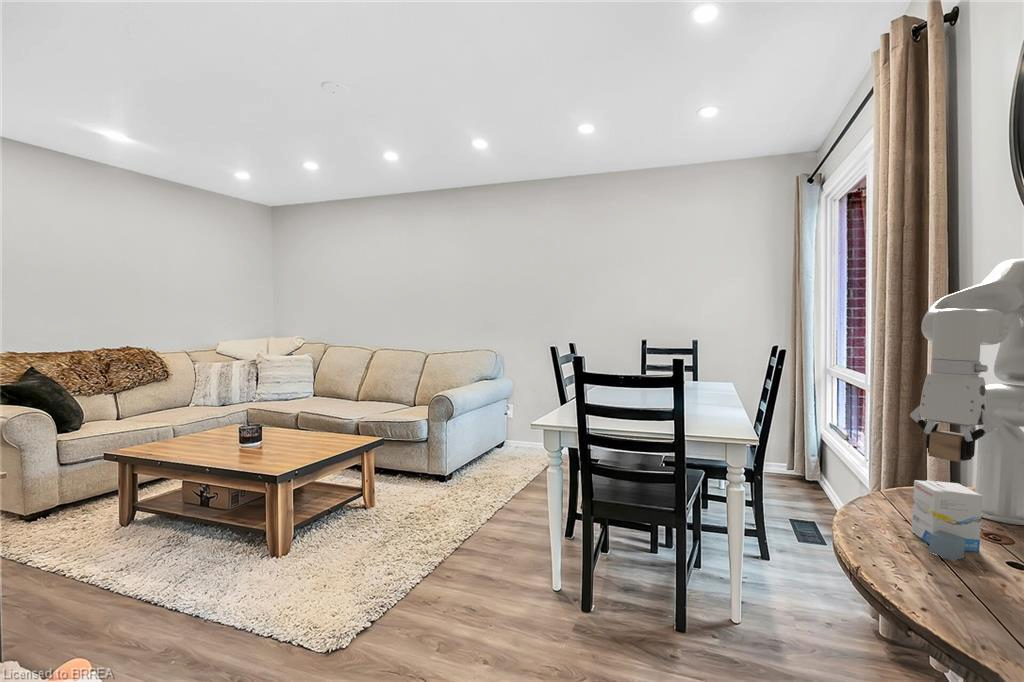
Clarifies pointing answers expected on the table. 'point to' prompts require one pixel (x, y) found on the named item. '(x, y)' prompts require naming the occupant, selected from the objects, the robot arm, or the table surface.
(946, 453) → the walnut block
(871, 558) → the table surface
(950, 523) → the ink box
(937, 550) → the slate block
